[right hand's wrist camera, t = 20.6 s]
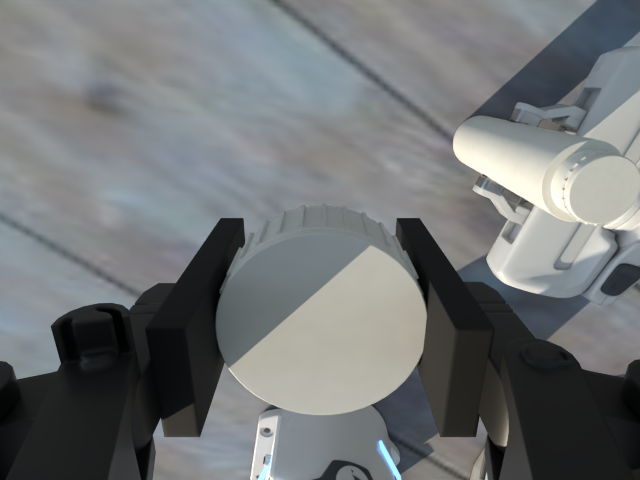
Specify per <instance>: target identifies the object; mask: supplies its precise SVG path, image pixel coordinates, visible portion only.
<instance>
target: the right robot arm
mask: <svg viewBox="0 0 640 480" xmlns="http://www.w3.org/2000/svg"><path fill="white" fill-rule="evenodd" d="M396 237H397V239H398V241H399V243H400V245H401V247H402V249H403V251H405V250H406V252H407V254H408V256H409V258H410V260H411V262H412V264H413V266H414V268H415V271H416V273H417V275H418V277H419V278H418V279H417V281H418V283H419V285H420V287H421V289H422V292H423V297H424V299H425V302H426V307H427V320H426V329H425V338H424V347H423V353H422V356H421V358H420V360H419V362H418V364H417V368H418V371H419V374H420V377H421V380H422V383H423V386H424V389H425V392H426V395H427V398H428V401H429V404H430V407H431V410H432V413H433V416H434V419H435V422H436V425H437V428H438V431H439V434H440V437H476V433H477V427H478V422H479V416H480V417H481V420H482V422H483V424H484V426H485V428H486V430H487V432H488V434H487V440H486V445H485V450H484V455H483V460H482V465H481V471H480V477H479V479H481V480H485V477H486V472H487V478H488V480H640V359H639V360H634V361H633V362H632V363H630V364H629V365H628V368H627V371H626V374H625V377H624V378H622V377H617V376H612V375H607V374H602V373H597V372H592V371H588V370H584V369H582V368H581V366H580V364H579V362H578V361H577V360H576V359H575V357H574V356H573V355H572V354H571V353H569V352H568V351H566V350H565V349H563V348H562V347H560V346H558V345H556V344H553V343H551V342H549V341H545V340H541V339H536V338H535V337H534V336H533V335H532V333H531V332H530V331H529V330H528V329H527V327H526V326H525V325H524V324H523V322H522V321H521V320H520V319H519V317H518V316H517V315H516V314H515V313H513V310H512V309H511V308H510V306H509V305H508V304H506V302H505V300H504V299H503V298H502V297H501V295H500V294H499V293H498V292H497V291H496V290H494V289H493V288H491V287H489V286H488V285H486V284H485V283H483V282H463V281H462V279H461V278H460V276H459V275H458V274H457V272H456V271H455V269H454V268H453V266H452V265H451V263H450V262H449V260H448V259H447V258H446V256H445V255H444V253H443V252H442V250H441V249H440V247H439V246H438V244H437V243H436V242H435V240H434V239H433V237H432V236H431V234H430V233H429V231H428V230H427V229H426V227H425V226H424V224H423V223H422V221H421V220H420V218H397V223H396ZM244 245H245V234H244V220H243V218H221V219H220V220H219V222H218V223H217V225H216V226H215V227H214V229H213V230H212V232H211V233H210V235H209V236H208V238H207V239H206V241H205V242H204V243H203V245H202V246H201V248H200V249H199V251H198V252H197V254H196V255H195V256H194V258H193V259H192V261H191V262H190V264H189V265H188V267H187V268H186V270H185V271H184V272H183V274H182V275H181V277H180V278H179V280H178V281H177V283H158V284H157V285H155V286H153V287H152V288H150V289H148V290H147V291H145V292H144V293H143V294H142V295H141V296H140V297H139V299H138V300H137V301H136V302H135V305H133V306H132V307H131V309H130V310H129V311H128V309H127V308H125V307H124V306H123V305H119V304H114V303H98V304H93V305H88V306H84V307H81V308H78V309H75V310H73V311H70V312H68V313H67V314H65V315H63V316H61V317H60V318H58V319H57V320H56V321H55V322H54V323H53V324H52V325H51V329H52V332H53V336H54V340H55V343H56V347H57V351H58V354H59V358H60V361H61V365H60V367H59V369H58V371H56V372H52V373H48V374H43V375H38V376H33V377H28V378H23V379H18V380H17V379H16V376H15V373H14V370H13V367H12V366H11V365H9V364H8V363H7V362H3V361H0V480H152V479H153V471H154V462H155V454H156V452H155V445H154V440H153V433H154V431H155V429H156V427H157V424H158V422H159V420H160V418H161V420H162V426H163V431H164V437H200V435H201V432H202V429H203V426H204V423H205V420H206V417H207V414H208V411H209V408H210V405H211V402H212V399H213V396H214V393H215V390H216V387H217V384H218V381H219V378H220V375H221V372H222V369H223V366H224V363H225V361H224V359H223V357H222V354H221V352H220V349H219V346H218V342H217V338H216V329H215V319H216V310H217V306H218V301H219V299H220V296H221V294H220V293H219V291H220V288H221V286H222V284H223V282H224V280H225V278H226V276H227V272H228V270H229V268H230V266H231V264H232V262H233V259H234V257H235V255H236V253H237V251H238V249H239V247H240V248H243V246H244Z"/></svg>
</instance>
